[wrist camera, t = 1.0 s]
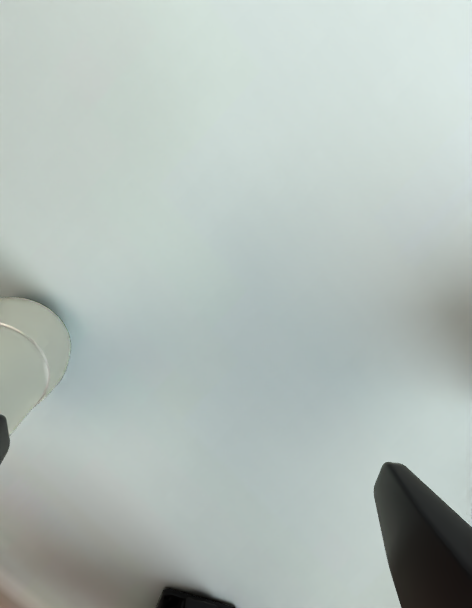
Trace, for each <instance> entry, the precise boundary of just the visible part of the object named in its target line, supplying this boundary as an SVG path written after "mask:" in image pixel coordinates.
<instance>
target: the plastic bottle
mask: <svg viewBox="0 0 472 608" xmlns="http://www.w3.org/2000/svg"><path fill="white" fill-rule="evenodd" d="M70 352H71V341H70V337H69V333H68V331H67V329H66V327H65V325H64V323H63V322H62V321H61V319H60V318H59V317H58V316H57V315H56V314H55V313H54V312H53V311H51V310H50V309H49V308H47V307H45V306H44V305H42V304H40V303H37V302H35V301H32V300H29V299H24V298H20V297H5V298H0V414H1V415H4V416H5V417H6V419H7V425H8V432H9V436H10V435H11V434H12V433H13V432H14V430H15V429H16V428H17V427H18V426H19V424H20V423H21V422H22V421H23V420H24V418H25V417H26V416H27V415H28V414H29V412H30V411H31V410H32V409H33V408H34V407H35V406H36V405H37V404H39V403H40V402H41V401H42V400H43V399H45V398H46V397H47V396H48V394H49V393H50V392H51V391H52V390H53V389H54V388H55V387H56V386H57V384H58V383H59V382H60V381H61V379H62V378H63V375H64V373H65V371H66V368H67V365H68V361H69V357H70Z"/></svg>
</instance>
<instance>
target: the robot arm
mask: <svg viewBox="0 0 472 608" xmlns="http://www.w3.org/2000/svg"><path fill="white" fill-rule="evenodd" d="M9 445H10V438H9V432H8V425H7V419H6V417H5V416H4V415H1V414H0V464H1V463H2V461H3V459H4V457H5V455H6V454H7V452H8V449H9ZM374 498H375V503H376V507H377V512H378V517H379V522H380V527H381V531H382V536H383V541H384V546H385V550H386V555H387V559H388V564H389V568H390V571H391V575H392V578H393V581H394V585H395V588H396V591H397V594H398V598H399V601H400V604H401V607H402V608H472V527H471V526H470V525H469V524H468V523H467V522H465V521H464V520H463V519H462V518H461V517H460V516H459V515H458V514H457V513H456V512H455V511H454V510H452V509H451V508H450V507H449V506H448V505H447V504H446V503H445V502H444V501H443V500H442V499H440V498H439V497H438V496H437V495H436V494H435V493H434V492H433V491H432V490H431V489H430V488H429V487H427V486H426V485H425V484H424V483H423V482H422V481H421V480H420V479H419V478H418V477H417V476H416V475H414V474H413V473H412V472H411V471H410V470H409V469H408V468H407V467H406V466H404V465H403V464H400V463H392V462H386V463H384V464H383V466H382V468H381V471H380V473H379V475H378V478H377V480H376V483H375V486H374ZM156 608H235V607H232V606H229V605H225V604H222V603H218V602H214V601H211V600H207V599H204V598H200V597H197V596H193V595H190V594H186V593H183V592H179V591H175V590H172V589H165V590H163V591H162V594H161V596H160V598H159V601H158V603H157V605H156Z"/></svg>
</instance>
